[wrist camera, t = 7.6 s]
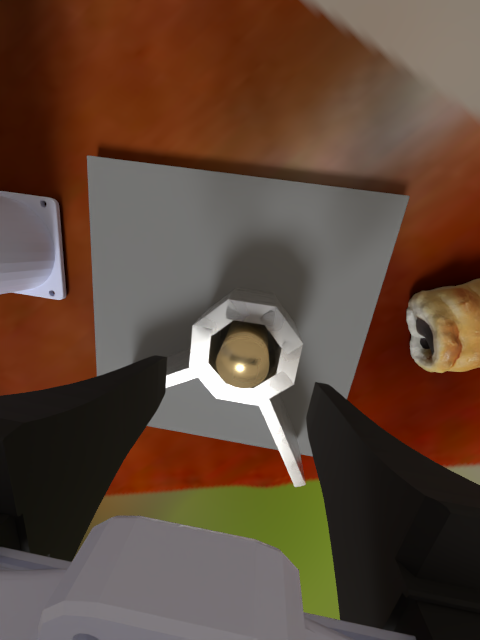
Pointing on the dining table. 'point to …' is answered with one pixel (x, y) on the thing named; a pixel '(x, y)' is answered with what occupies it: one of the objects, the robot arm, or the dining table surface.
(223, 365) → the pin
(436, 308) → the pastry
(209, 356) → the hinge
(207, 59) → the dining table surface
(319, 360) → the mat
